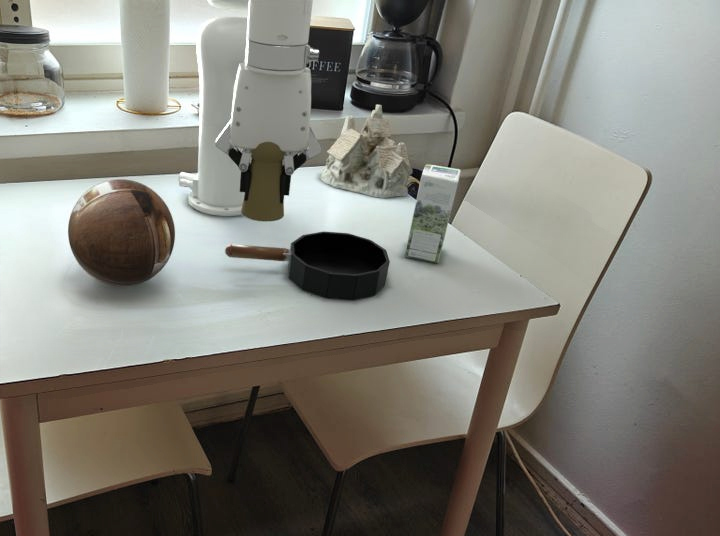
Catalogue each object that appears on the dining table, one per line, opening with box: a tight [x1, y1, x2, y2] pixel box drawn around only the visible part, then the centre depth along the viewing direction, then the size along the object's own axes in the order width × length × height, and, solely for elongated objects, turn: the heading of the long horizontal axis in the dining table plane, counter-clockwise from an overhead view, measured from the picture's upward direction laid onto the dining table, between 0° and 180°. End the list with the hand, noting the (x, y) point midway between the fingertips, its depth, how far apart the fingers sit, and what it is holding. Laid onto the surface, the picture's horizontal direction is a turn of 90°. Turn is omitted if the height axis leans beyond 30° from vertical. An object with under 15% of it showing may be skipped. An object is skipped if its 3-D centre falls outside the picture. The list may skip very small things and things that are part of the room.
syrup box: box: [404, 163, 462, 264], centre depth 116 cm, size 6×6×14 cm
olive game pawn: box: [241, 142, 285, 223], centre depth 96 cm, size 6×6×11 cm
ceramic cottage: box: [319, 104, 413, 199], centre depth 142 cm, size 16×16×15 cm
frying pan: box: [224, 231, 391, 301], centre depth 110 cm, size 25×15×4 cm, turn 88°
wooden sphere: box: [67, 178, 176, 287], centre depth 101 cm, size 15×15×15 cm
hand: (263, 197), depth 98 cm, fingers closed on olive game pawn, 4 cm apart
